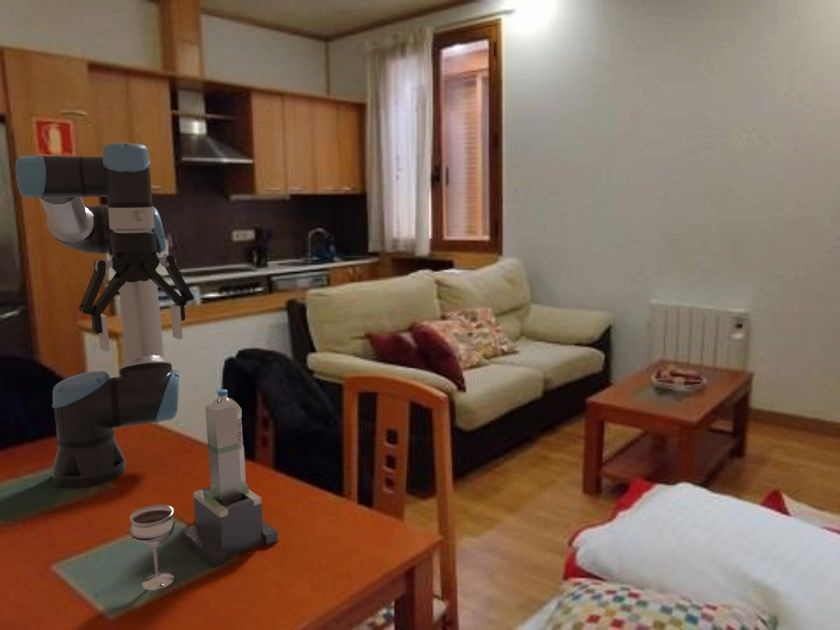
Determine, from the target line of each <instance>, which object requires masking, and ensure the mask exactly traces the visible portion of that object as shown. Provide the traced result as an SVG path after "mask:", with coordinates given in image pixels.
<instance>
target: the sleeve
mask: <svg viewBox="0 0 840 630" xmlns="http://www.w3.org/2000/svg"><path fill="white" fill-rule="evenodd" d="M208 490H211V485H210V486H207V487H205V488H202V489H198V490H195V491H193V492H192V498H193V508H194V519H195V523H194V524H195V525H194V524H192V525H189V526H187V527H184V528H181V529H180V533H181V534H180V535H181V540H182V541H183V542H184V543H185V544H186V545H187V546H188V547H190V548H191V549H192V550H193V551H194V553H196V554H197V556H199V557H200V558H201V559H202V560H204V561H205V562H206V563H207V564H208V565H209V566H210V567H211V568H215V567H218V566H220V565H224V564H225V563H226V560H227V559H229V558H232V557H235V556H237V555H240V554H241V553H244V552H247V551H249V550H251V549H254V548H257V547H259V546H261V545H265V546H269V545H272V544H275V543H277V542H279V531H278V530H277V529H275V528H274V527H273V526H271V524H269V523H268V522H266V521H264V520H263V505H262V497H261V496H259V495H258V494H256V493H254V492H253V491H251V490H250V489H249V492H246V493H243V494H242V501H239V502H236V503H233V504H230V505H227V506H225V507H224V506H222V505H221V504H220V503H218V502H217V503H214V504H211V503H210V502H209V501H207V500H206V499H205V498H204V492H205V491H208Z"/></svg>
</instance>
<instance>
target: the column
mask: <svg viewBox="0 0 840 630" xmlns="http://www.w3.org/2000/svg"><path fill="white" fill-rule="evenodd" d="M204 407H205V408H204V409H205V421H206V423H205V424H206V436H207V437H206V439H207V444H206V445H207V449H208V451H207V452H208V463H209V464H208V465H209V479H210V486H211V490H208V491H205V492H204V498H205V499H206V500H207V501H209V502H210V503H211V504H214V503H217V502H218V503H220V504H221V505H222V506H224V507H225V506H227V505H230V504H233V503H236V502H239V501H242V494H243V493H246V492H249V490H250V489H249V485H248V484H247V483H246V484H245V483H244V482H242V481H241V473H240V457H239V441H238V425H237V410H236V406H235V405H233V404H231V403H229V402H227V401H224V402H220V403H216V404H212V403H210V404H208V405H205V406H204Z"/></svg>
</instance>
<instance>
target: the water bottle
mask: <svg viewBox="0 0 840 630" xmlns="http://www.w3.org/2000/svg"><path fill="white" fill-rule="evenodd" d="M228 392H229V391H228V390H227V389H224V388H223V389H219V390H217V398H216V399H215V400H214V401H212V403H211V404H216V403H220V402H224V401H227V402H229V403H231V404H233V405H235V406H236V410H237V425H238V441H239V457H240V473H241V481H242V482H244V483H245V484H247V479H246V477H247V476H246V465H245V464H246V463H245V447H244V440H243V437H244V436H243V424H242V415H243V414H242V413H243V411H242V407H240V405H239V404H238V403H237V402H236V401H235V400H234V399H233V398H230V397H228Z"/></svg>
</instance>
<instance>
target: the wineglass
mask: <svg viewBox="0 0 840 630" xmlns="http://www.w3.org/2000/svg"><path fill="white" fill-rule="evenodd" d="M174 512H175V511H174V508H173V507H172V506H170V505H166V504H153V505H152V504H151V505H148V506H144V507H141V508H139V509H137V510H135V511H133V512H132V514H131V515H130V516H129V520H130V522H131V524H130V525H131V526H130V535H131V537H132V538H133V540H134V541H135V542H137V543H138V544H140V545H142V546H145V547H150V548H152V549H151V550H152V555H153V564H154V569H155V574H151V575H149V576H147V577H145V579H144V580H143V581H142V582H141V587H142V588H143V589H144V590H147V591H157V590H161V589H164V588H166V587H168V586H169V585H171V584H172V583H173V581H174V579H175V576H174V575H173V573H172V574H171V573H168V572H159V551H158V547H159V546H160V545H161V544H163V543H165V542H166V541H167V540H168V539H169V537H170V536H172V534H173V532H174V530H175V527H176V525H175V524H176V520H175V519H176V518H175V517H174V516H173V515H174Z"/></svg>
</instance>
